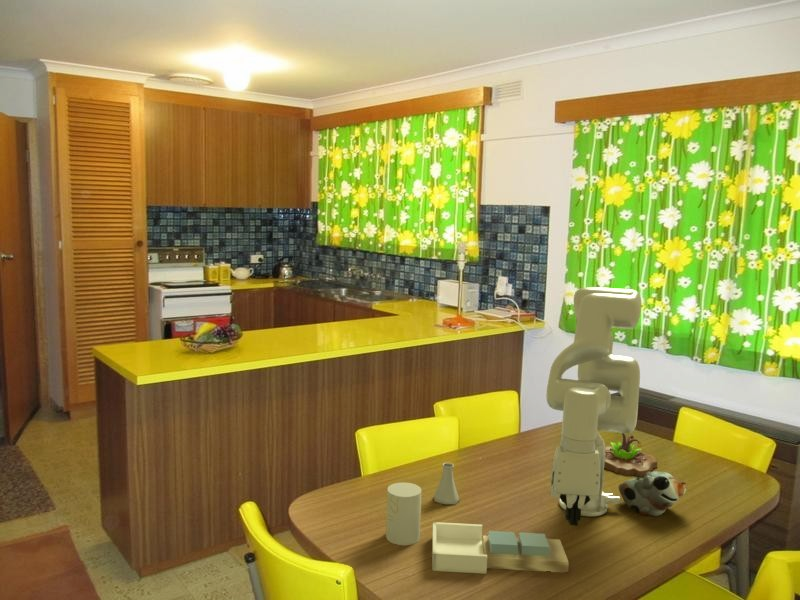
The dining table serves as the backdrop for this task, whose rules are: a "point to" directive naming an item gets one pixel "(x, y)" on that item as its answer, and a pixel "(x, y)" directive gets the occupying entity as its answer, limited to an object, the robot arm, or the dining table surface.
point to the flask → (446, 487)
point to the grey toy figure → (652, 492)
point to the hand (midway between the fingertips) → (572, 522)
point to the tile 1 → (502, 542)
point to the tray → (458, 548)
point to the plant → (628, 458)
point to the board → (529, 558)
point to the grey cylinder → (403, 513)
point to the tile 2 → (533, 544)
